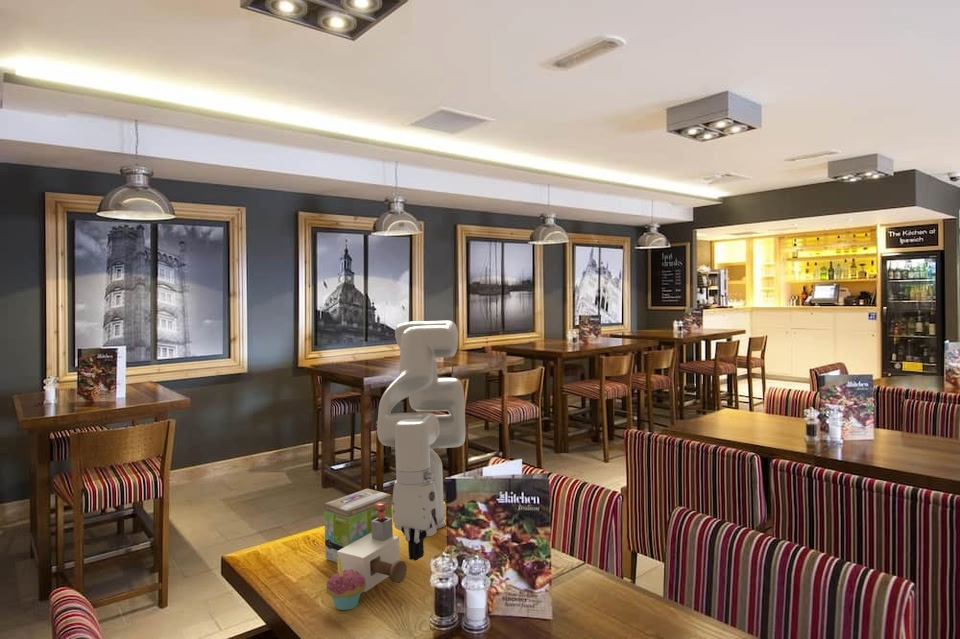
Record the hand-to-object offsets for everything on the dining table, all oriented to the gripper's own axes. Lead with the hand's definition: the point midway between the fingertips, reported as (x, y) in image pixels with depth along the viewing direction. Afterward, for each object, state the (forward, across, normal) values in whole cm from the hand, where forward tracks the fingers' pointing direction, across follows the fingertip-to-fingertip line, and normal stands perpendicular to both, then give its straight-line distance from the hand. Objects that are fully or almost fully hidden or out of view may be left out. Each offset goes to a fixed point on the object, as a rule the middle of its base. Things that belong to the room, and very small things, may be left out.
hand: (416, 557), depth 136 cm
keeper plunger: (-2, +16, -7) cm, 18 cm away
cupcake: (+9, +12, +9) cm, 18 cm away
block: (+9, +16, -3) cm, 19 cm away
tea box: (+9, +27, -12) cm, 31 cm away
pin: (+7, +12, -1) cm, 14 cm away
